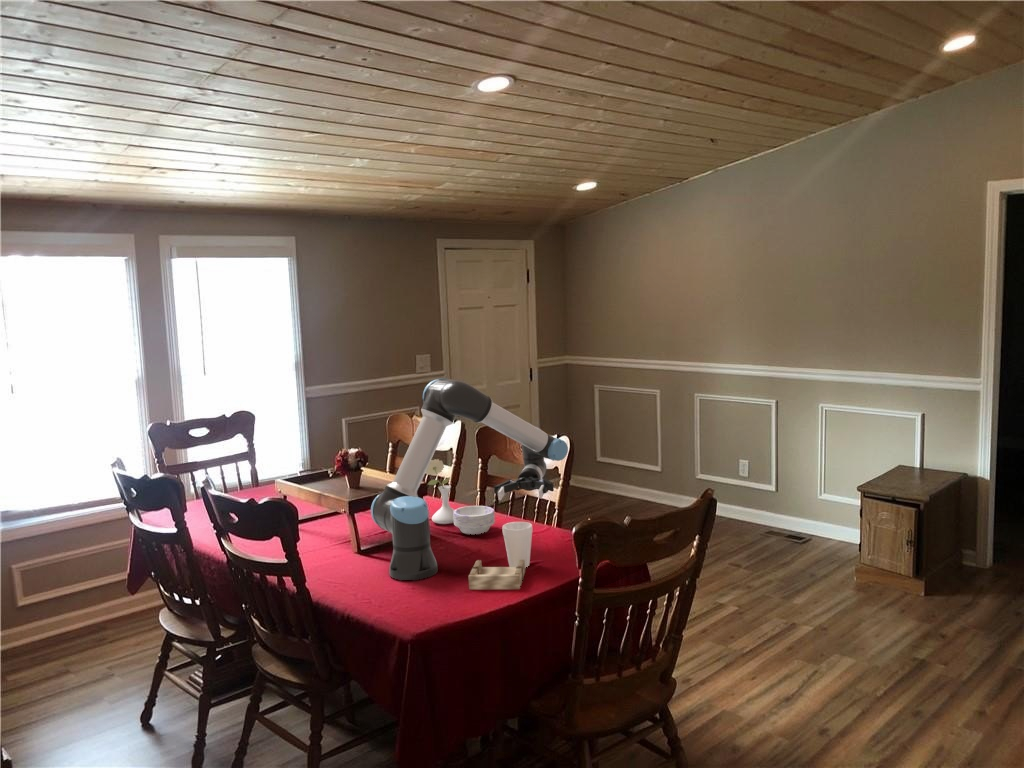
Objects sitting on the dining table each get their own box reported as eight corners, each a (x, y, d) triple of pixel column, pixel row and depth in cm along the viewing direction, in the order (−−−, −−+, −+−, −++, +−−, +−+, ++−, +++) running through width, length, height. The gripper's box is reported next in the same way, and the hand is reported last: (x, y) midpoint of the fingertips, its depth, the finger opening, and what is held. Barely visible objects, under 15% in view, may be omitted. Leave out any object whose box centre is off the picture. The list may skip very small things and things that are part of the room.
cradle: (468, 589, 236) (467, 576, 235) (477, 571, 250) (476, 559, 250) (520, 589, 234) (519, 576, 233) (526, 571, 248) (525, 559, 248)
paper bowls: (504, 530, 294) (502, 509, 293) (472, 540, 284) (470, 518, 283) (477, 522, 305) (476, 502, 304) (446, 532, 295) (444, 511, 294)
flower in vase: (461, 517, 314) (457, 454, 311) (461, 525, 303) (457, 460, 300) (428, 519, 313) (424, 456, 310) (427, 527, 302) (422, 462, 299)
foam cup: (531, 571, 249) (528, 530, 247) (502, 570, 250) (499, 530, 249) (536, 560, 258) (534, 521, 256) (508, 560, 260) (506, 521, 258)
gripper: (566, 486, 279) (558, 504, 258) (496, 489, 284) (483, 508, 263) (564, 465, 278) (556, 482, 257) (494, 469, 283) (481, 486, 262)
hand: (519, 495), depth 260 cm, fingers open, 13 cm apart
